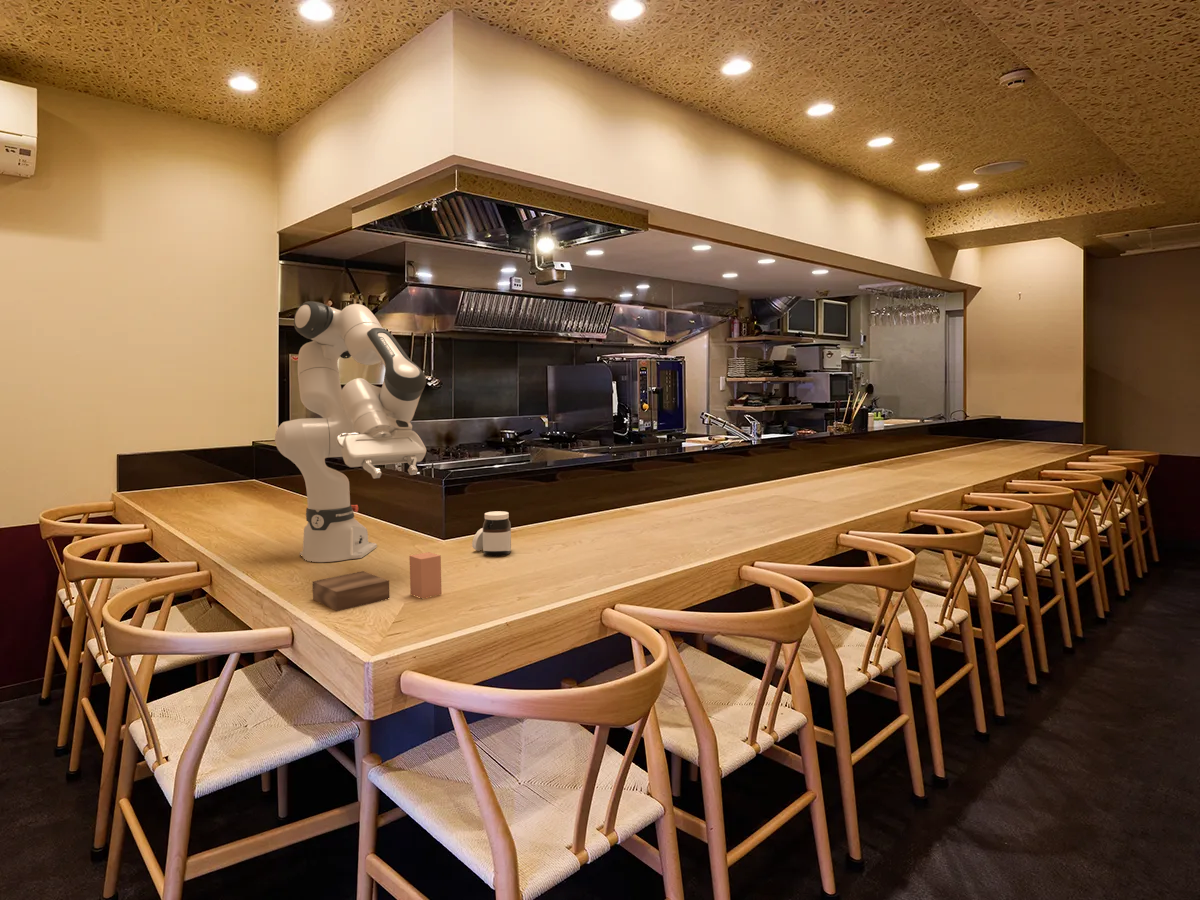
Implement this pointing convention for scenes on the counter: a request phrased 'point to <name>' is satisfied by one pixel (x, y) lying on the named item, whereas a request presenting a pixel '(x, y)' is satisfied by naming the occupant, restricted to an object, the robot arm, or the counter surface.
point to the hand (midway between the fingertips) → (396, 474)
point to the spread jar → (494, 534)
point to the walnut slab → (350, 590)
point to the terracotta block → (425, 574)
